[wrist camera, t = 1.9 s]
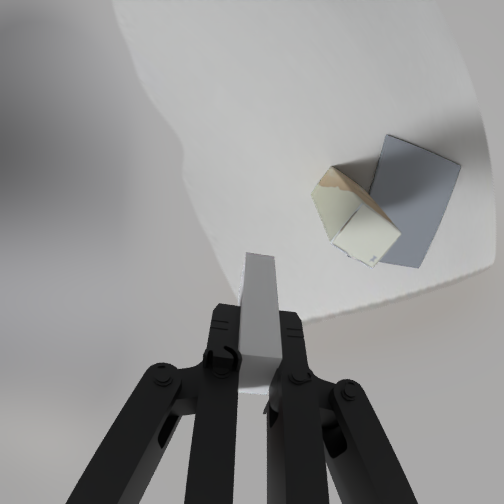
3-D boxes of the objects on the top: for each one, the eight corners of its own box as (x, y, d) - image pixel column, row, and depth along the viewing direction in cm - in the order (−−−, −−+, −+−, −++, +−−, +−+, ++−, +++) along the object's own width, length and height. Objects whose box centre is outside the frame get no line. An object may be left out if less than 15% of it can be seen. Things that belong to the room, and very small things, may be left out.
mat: (386, 134, 26) (387, 135, 26) (459, 165, 27) (460, 166, 27) (347, 255, 35) (347, 256, 34) (417, 266, 36) (418, 268, 35)
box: (364, 188, 30) (406, 235, 21) (342, 216, 32) (373, 272, 23) (329, 163, 29) (363, 202, 19) (307, 194, 31) (328, 245, 21)
